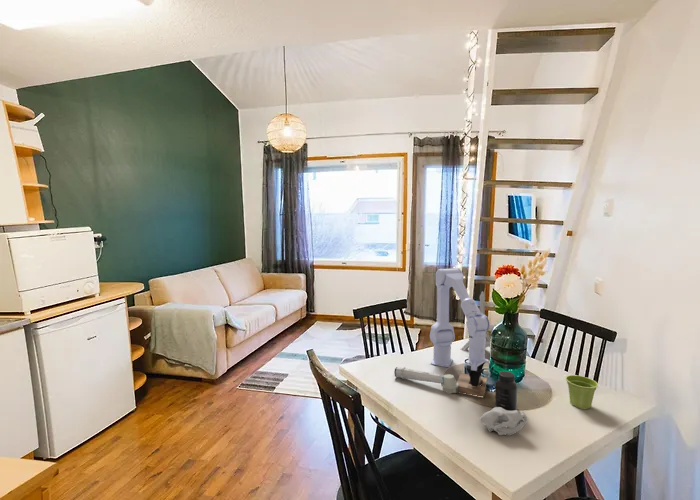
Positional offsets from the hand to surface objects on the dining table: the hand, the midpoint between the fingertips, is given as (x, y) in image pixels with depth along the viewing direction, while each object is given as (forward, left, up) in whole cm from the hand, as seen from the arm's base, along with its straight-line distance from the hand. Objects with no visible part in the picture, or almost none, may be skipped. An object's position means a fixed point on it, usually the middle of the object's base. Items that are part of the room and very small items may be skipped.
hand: (475, 381), depth 131 cm
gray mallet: (+5, -18, -3) cm, 19 cm away
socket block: (0, -2, -3) cm, 3 cm away
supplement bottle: (+9, +11, -3) cm, 15 cm away
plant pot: (-5, +34, -3) cm, 35 cm away
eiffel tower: (-40, -3, -3) cm, 40 cm away
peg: (0, 0, -3) cm, 3 cm away
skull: (+24, +11, -3) cm, 27 cm away
